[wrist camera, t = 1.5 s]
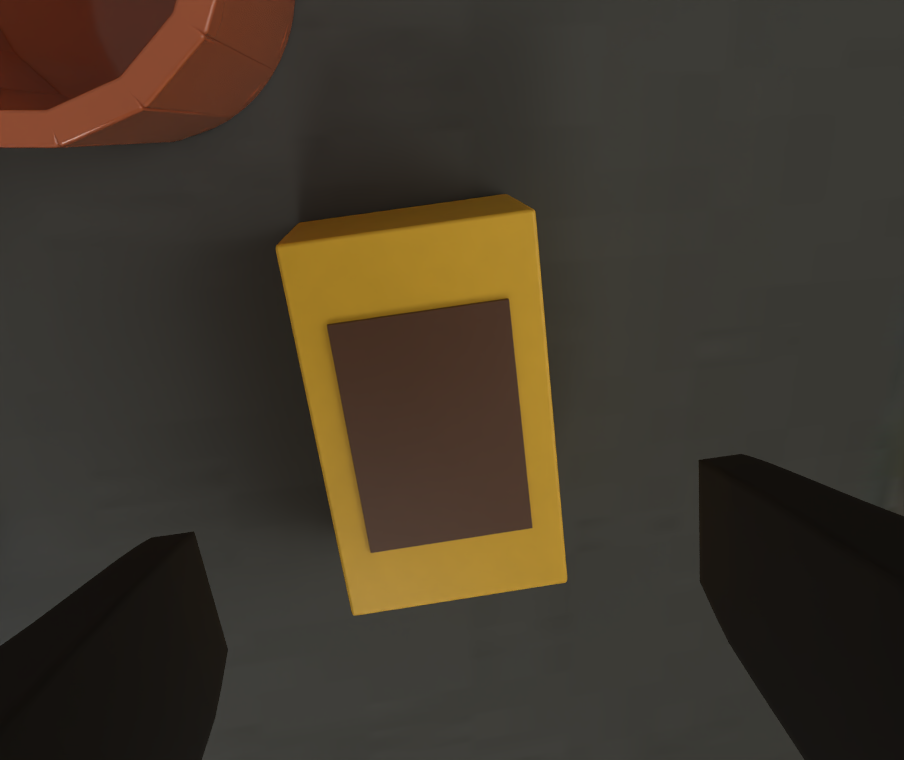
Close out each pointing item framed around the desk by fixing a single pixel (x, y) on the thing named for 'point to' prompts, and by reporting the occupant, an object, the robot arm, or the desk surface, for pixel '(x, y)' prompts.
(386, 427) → the coffee packet
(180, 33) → the terracotta cup
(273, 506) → the desk surface
